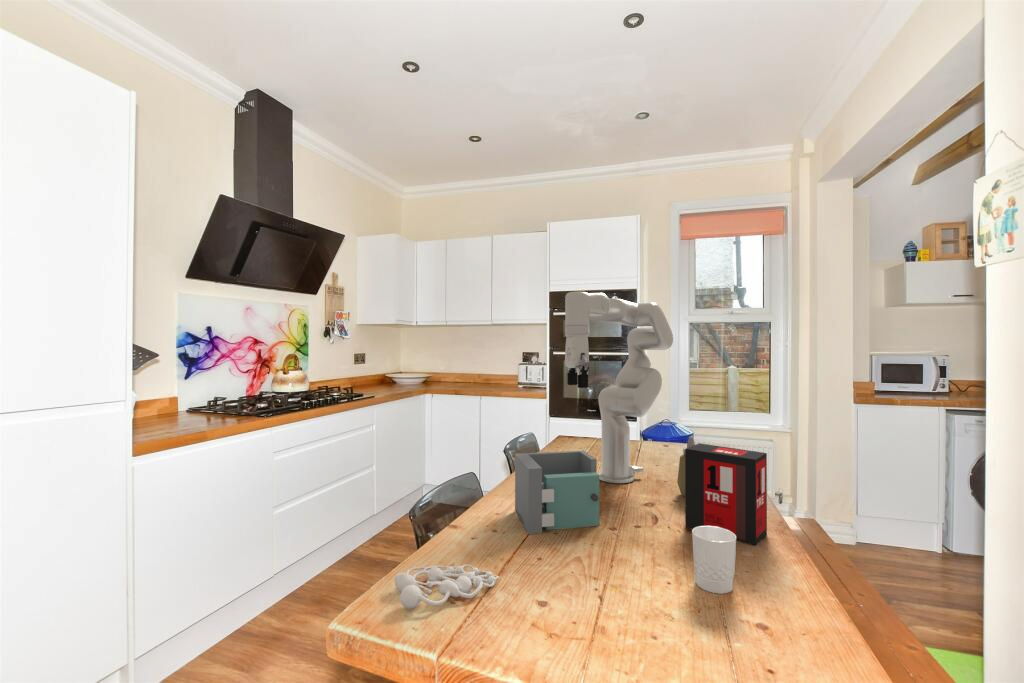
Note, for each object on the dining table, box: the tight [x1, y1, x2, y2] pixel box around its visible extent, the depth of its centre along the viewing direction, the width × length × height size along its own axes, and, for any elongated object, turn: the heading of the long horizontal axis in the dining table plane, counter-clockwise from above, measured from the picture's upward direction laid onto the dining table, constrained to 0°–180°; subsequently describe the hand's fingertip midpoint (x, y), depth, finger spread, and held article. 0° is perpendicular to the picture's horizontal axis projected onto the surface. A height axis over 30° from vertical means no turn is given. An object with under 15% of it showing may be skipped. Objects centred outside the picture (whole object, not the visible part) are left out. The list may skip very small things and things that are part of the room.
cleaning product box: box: [684, 443, 768, 547], centre depth 118 cm, size 16×9×20 cm, turn 47°
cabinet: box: [514, 450, 598, 535], centre depth 126 cm, size 20×16×16 cm
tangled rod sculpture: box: [394, 564, 500, 610], centre depth 91 cm, size 19×14×4 cm
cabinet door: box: [544, 472, 600, 531], centre depth 121 cm, size 14×4×13 cm, turn 101°
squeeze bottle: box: [677, 436, 696, 498], centre depth 145 cm, size 8×8×18 cm
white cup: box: [691, 526, 737, 595], centre depth 92 cm, size 8×8×10 cm
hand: (577, 386), depth 148 cm, fingers open, 9 cm apart
